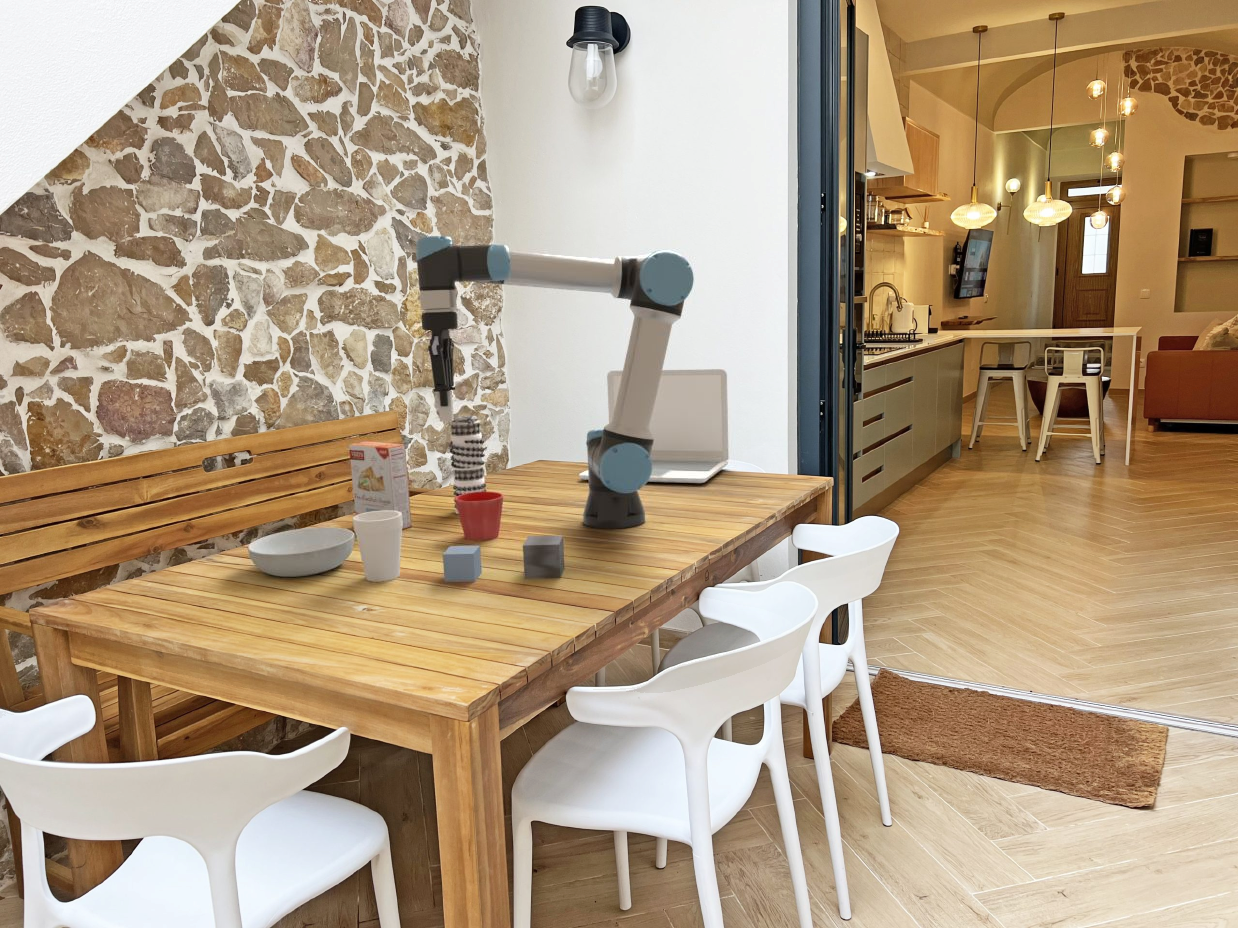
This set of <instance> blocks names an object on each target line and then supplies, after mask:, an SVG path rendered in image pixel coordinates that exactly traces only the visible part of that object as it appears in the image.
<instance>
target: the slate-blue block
mask: <svg viewBox="0 0 1238 928" xmlns="http://www.w3.org/2000/svg"><path fill="white" fill-rule="evenodd" d="M442 565H443V574H444V575H443V579H444V582H445V583H453V582H455V583H458V582H461V583H464V582H466V583H467V582H476V581H477V580H478V579H479V577H480V576H481V575H482V573H483V570H482V555H481V545H450V546H448V548H447V549H446V550H445V551H444V552H443V553H442Z"/></svg>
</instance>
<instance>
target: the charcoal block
mask: <svg viewBox="0 0 1238 928" xmlns="http://www.w3.org/2000/svg"><path fill="white" fill-rule="evenodd" d="M564 547H565V546H564V535H535V536H534V535H533V536H532V535H528V536H527V538H526V540H525V541H524V543H523V544H522V556H523V557H522V558H523V572H524V573H523V574H524V579H529V580H531V579H561V578H562V575H563V573H564V571H565V566H566V565H565V548H564Z"/></svg>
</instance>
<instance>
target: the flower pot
mask: <svg viewBox="0 0 1238 928" xmlns="http://www.w3.org/2000/svg"><path fill="white" fill-rule="evenodd" d="M455 497H456V496H455ZM455 497H454V498H455ZM455 501H456V503H455V504H456V505H457V510H458V514H457V515H458V517H459V521H460V524H461V527H462V533H463V535H464V538H465V539H466V540H467V539H468V541H473V542H474V541H476V542H477V541H478V542H479V541H480V542H481V540H483V541H487V540H489V539H490V540H494V539H496V538H498V536H499V534H500V530H501V529H500V527H501V521H502V520H501V519H502V512H503V503H504V502H503V501H504V495H503V493H501V492H496V491H486V492H472V493H466V494H462V495H459V496H457V497H456V498H455Z"/></svg>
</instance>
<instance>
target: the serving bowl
mask: <svg viewBox="0 0 1238 928" xmlns="http://www.w3.org/2000/svg"><path fill="white" fill-rule="evenodd" d="M355 536H356V534H355V533H354V532H353V531H352V530H350V529H347V528H342V527H331V526H329V527H326V526H325V527H323V526H322V527H318V526H317V527H307V528H296V529H291V530H285V531H281V532H276V533H272V534H269V535H265V536H263V537H260V538H257V539H255V540H254V541H252V542H251V543H249V545H248V546H247V551H248V555H249V557H250V559H251V562H252V563H253V564H254V565H255V567H256V568H258V569H259V570H260V571H262V572H264V573H266V574H268V575H271V576H275V577H282V578H283V577H285V578H292V577H293V578H294V577H295V578H296V577H297V578H298V577H307V576H314V575H317V574H320V573H325V572H327V571H330V570H332V569H335V568H337V567H339V566H340V565H342V564H343V563H344V562H345V561H346V560H347V559H349V557H350V556H351V553H352V551H353V548H354V546H355Z"/></svg>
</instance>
